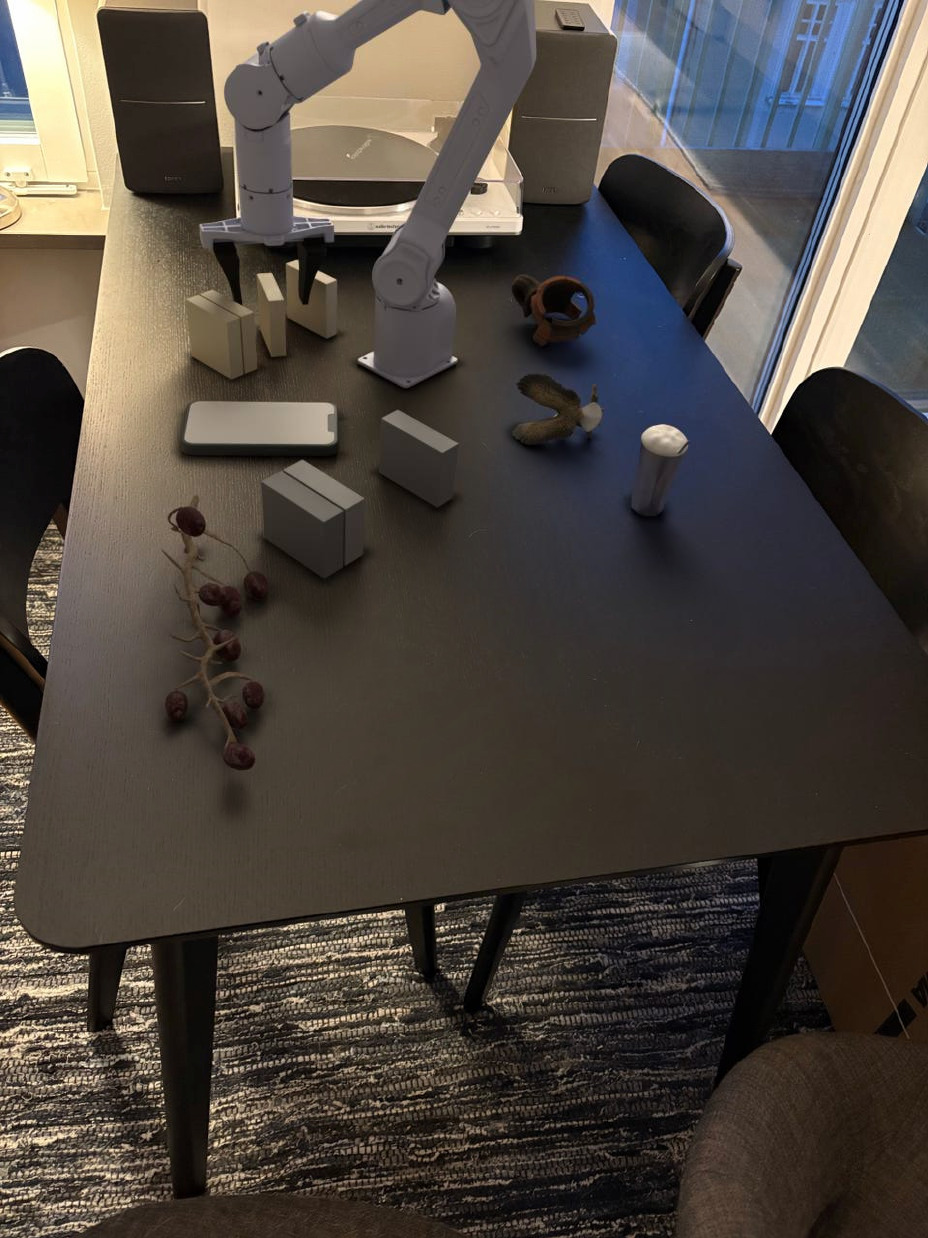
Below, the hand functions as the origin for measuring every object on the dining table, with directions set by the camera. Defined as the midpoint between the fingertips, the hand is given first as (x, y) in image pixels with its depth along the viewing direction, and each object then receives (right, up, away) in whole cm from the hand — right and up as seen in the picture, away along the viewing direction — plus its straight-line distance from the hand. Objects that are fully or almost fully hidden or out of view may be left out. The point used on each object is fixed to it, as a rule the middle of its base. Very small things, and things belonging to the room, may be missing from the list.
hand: (271, 303), depth 113 cm
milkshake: (+41, -26, -14) cm, 51 cm away
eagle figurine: (+33, -16, -5) cm, 37 cm away
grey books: (+13, -27, -19) cm, 35 cm away
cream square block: (0, -4, +3) cm, 5 cm away
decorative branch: (+2, -38, -32) cm, 50 cm away
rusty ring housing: (+33, 0, +12) cm, 36 cm away
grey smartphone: (+1, -17, -11) cm, 20 cm away
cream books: (0, -4, +3) cm, 5 cm away
